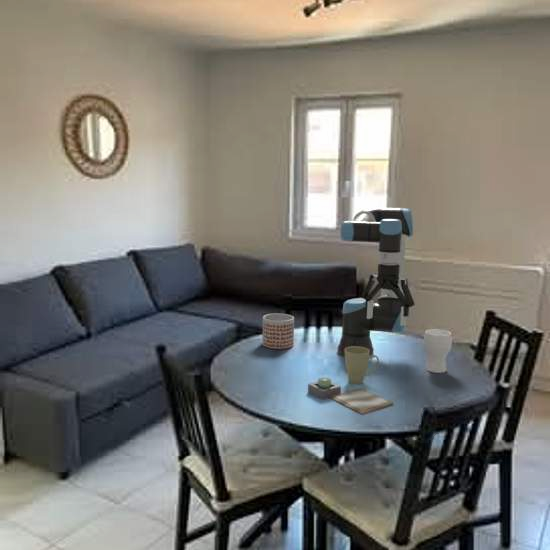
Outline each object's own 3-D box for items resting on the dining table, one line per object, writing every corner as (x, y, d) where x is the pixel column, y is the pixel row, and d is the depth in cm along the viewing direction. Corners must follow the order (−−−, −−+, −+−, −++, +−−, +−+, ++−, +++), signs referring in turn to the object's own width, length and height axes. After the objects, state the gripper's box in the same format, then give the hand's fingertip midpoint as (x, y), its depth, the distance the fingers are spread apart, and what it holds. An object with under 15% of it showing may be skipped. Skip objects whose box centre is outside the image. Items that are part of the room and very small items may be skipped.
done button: (315, 386, 197) (315, 378, 196) (325, 384, 199) (325, 376, 199) (323, 390, 193) (323, 382, 193) (333, 388, 196) (333, 380, 195)
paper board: (329, 397, 193) (329, 395, 193) (359, 389, 201) (360, 387, 200) (361, 414, 180) (361, 412, 180) (393, 404, 188) (393, 402, 188)
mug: (354, 388, 201) (355, 356, 199) (338, 379, 210) (339, 348, 208) (379, 383, 206) (380, 351, 204) (362, 374, 215) (364, 344, 213)
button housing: (307, 392, 198) (308, 383, 197) (325, 387, 202) (326, 379, 202) (322, 399, 191) (322, 391, 191) (340, 394, 196) (340, 386, 195)
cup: (451, 375, 215) (454, 337, 213) (422, 373, 217) (424, 335, 215) (448, 366, 226) (451, 329, 223) (421, 364, 228) (423, 327, 225)
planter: (293, 350, 244) (294, 321, 241) (262, 349, 244) (262, 320, 241) (293, 340, 257) (293, 313, 255) (263, 340, 257) (263, 313, 255)
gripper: (353, 260, 205) (351, 317, 209) (416, 269, 189) (412, 330, 193) (364, 258, 211) (362, 313, 215) (426, 266, 195) (422, 325, 199)
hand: (386, 321), depth 204 cm, fingers open, 13 cm apart
